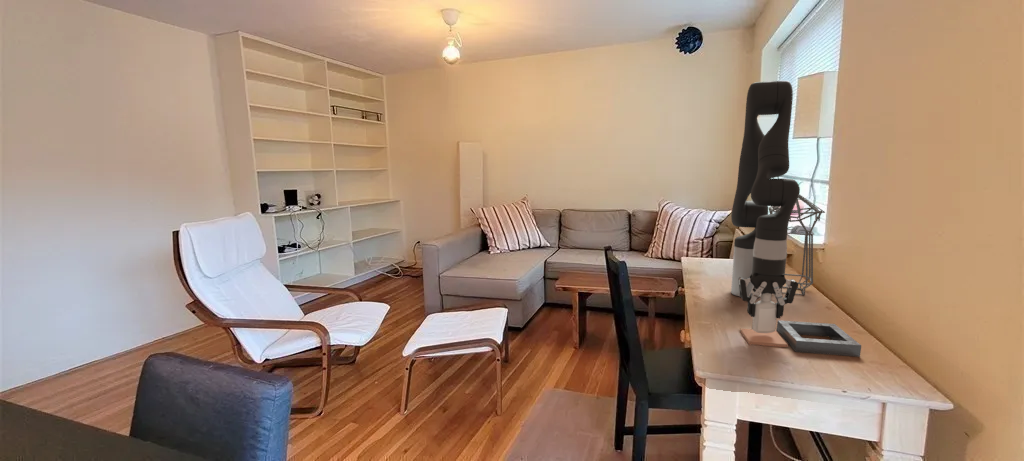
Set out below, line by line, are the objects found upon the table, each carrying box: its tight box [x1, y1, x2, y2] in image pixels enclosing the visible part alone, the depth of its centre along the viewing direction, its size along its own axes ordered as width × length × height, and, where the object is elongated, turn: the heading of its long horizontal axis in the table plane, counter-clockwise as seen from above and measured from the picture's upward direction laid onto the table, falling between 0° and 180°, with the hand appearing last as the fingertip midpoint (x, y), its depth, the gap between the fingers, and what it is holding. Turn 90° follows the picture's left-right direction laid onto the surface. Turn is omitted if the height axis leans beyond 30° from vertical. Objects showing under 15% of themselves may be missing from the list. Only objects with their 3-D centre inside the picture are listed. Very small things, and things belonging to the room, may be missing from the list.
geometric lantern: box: [768, 193, 826, 296], centre depth 156 cm, size 16×16×35 cm
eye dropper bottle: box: [751, 293, 777, 333], centre depth 117 cm, size 4×6×12 cm
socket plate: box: [776, 319, 862, 358], centre depth 115 cm, size 14×14×3 cm
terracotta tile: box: [739, 328, 789, 348], centre depth 118 cm, size 9×9×1 cm
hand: (764, 316), depth 117 cm, fingers closed on eye dropper bottle, 5 cm apart
